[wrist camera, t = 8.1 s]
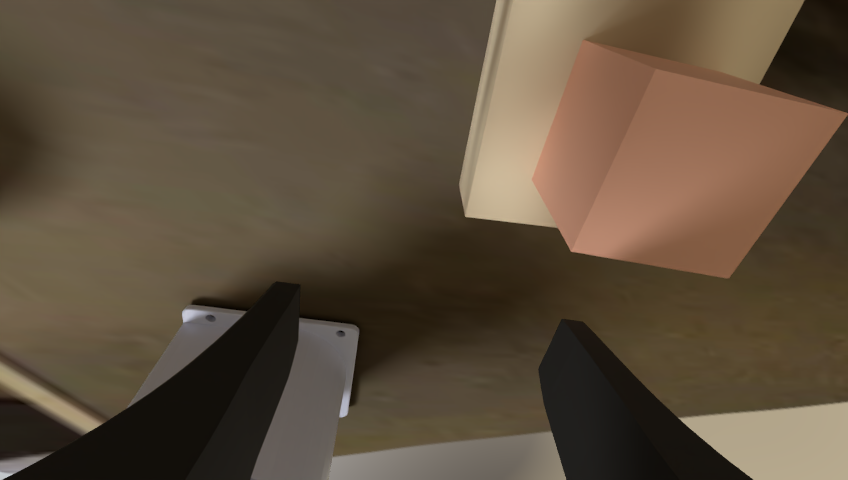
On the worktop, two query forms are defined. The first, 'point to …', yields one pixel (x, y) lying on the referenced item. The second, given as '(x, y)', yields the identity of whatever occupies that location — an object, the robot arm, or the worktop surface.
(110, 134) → the worktop surface
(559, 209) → the terracotta cube
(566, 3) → the birch base block
